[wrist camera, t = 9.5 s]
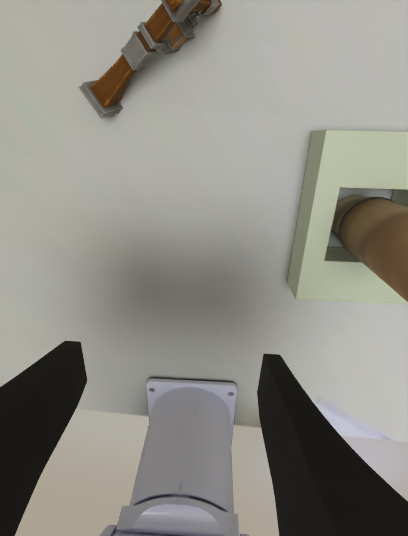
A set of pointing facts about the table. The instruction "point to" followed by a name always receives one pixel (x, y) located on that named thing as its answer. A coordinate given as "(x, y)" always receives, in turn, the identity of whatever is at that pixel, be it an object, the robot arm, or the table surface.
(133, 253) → the table surface
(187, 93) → the table surface
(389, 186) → the board
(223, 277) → the table surface
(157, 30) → the wooden post with brackets
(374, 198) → the peg
